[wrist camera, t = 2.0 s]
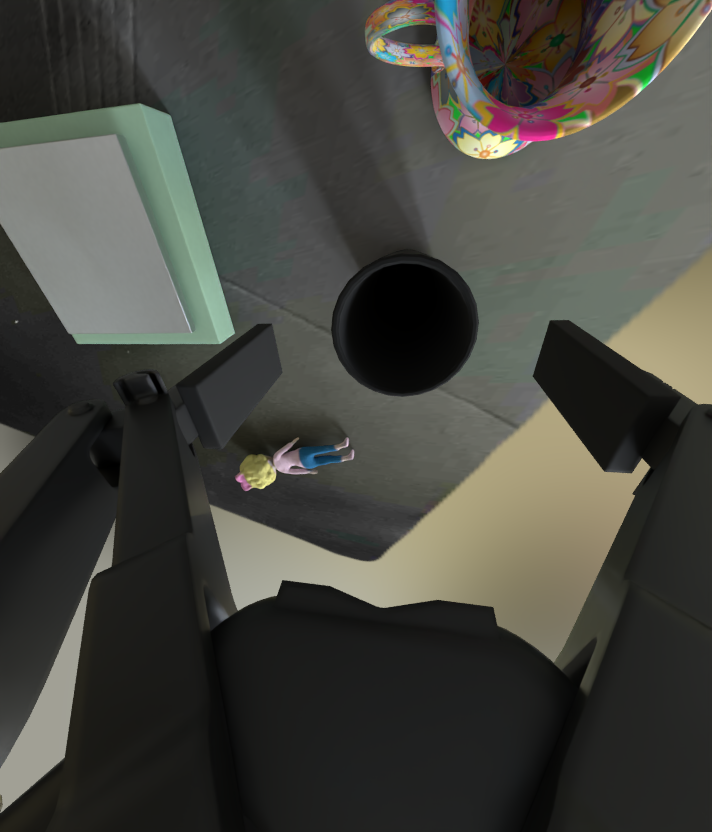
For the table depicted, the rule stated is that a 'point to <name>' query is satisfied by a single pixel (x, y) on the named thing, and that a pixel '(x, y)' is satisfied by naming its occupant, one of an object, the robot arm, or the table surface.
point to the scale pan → (91, 236)
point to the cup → (405, 324)
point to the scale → (168, 201)
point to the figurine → (286, 463)
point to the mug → (533, 61)
